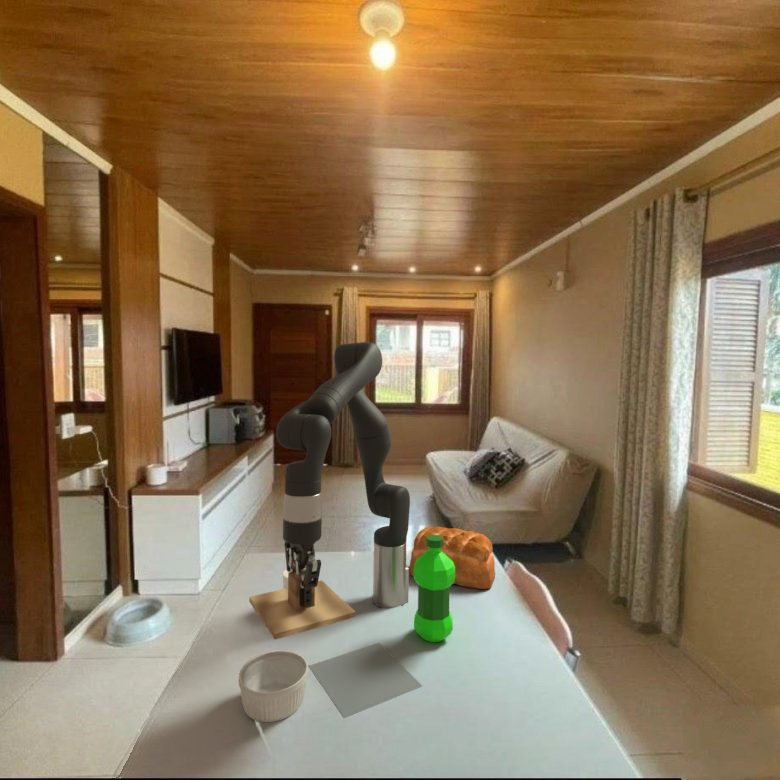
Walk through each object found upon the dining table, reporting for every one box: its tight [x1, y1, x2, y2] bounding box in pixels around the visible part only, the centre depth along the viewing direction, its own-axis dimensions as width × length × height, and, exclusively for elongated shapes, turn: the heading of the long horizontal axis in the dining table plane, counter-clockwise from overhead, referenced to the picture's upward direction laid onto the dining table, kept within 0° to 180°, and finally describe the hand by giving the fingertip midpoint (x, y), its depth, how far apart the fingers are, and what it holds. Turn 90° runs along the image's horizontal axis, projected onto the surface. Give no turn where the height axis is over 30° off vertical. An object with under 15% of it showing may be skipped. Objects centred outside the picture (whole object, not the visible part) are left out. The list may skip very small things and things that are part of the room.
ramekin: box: [238, 650, 309, 723], centre depth 94 cm, size 13×13×7 cm
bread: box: [408, 526, 496, 590], centre depth 152 cm, size 14×26×16 cm, turn 70°
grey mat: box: [308, 642, 423, 719], centre depth 102 cm, size 18×18×1 cm
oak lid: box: [248, 569, 356, 640], centre depth 95 cm, size 16×16×7 cm
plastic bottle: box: [413, 535, 455, 643], centre depth 117 cm, size 10×10×25 cm
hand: (301, 600), depth 95 cm, fingers closed on oak lid, 4 cm apart
